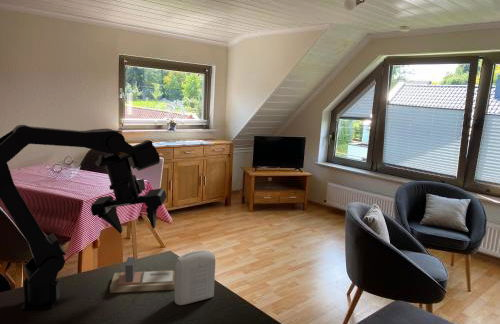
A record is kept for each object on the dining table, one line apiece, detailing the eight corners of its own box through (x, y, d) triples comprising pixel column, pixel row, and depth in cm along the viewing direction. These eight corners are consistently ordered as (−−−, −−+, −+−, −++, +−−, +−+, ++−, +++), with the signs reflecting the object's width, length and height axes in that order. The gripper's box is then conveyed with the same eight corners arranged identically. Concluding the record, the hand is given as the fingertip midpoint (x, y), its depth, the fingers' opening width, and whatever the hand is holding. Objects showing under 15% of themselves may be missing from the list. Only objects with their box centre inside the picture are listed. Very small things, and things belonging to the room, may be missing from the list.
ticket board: (109, 292, 96) (109, 285, 96) (114, 277, 104) (114, 271, 103) (174, 289, 99) (174, 282, 99) (174, 275, 107) (174, 268, 106)
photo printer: (208, 289, 100) (210, 245, 98) (216, 297, 96) (218, 251, 94) (171, 299, 94) (172, 252, 92) (178, 308, 91) (179, 259, 88)
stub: (118, 284, 97) (118, 266, 96) (121, 273, 103) (121, 256, 102) (139, 283, 98) (139, 265, 97) (141, 273, 104) (141, 256, 103)
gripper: (164, 160, 103) (177, 211, 109) (99, 170, 105) (115, 220, 110) (152, 176, 93) (168, 231, 98) (81, 186, 95) (100, 240, 100)
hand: (137, 230), depth 102 cm, fingers open, 9 cm apart
